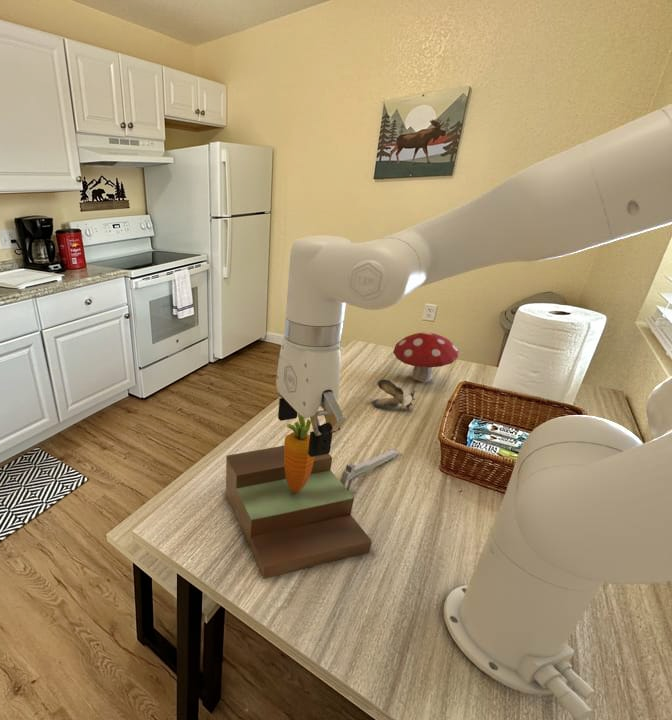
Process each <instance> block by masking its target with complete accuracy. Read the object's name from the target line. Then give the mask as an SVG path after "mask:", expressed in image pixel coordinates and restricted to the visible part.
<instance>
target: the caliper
mask: <svg viewBox="0 0 672 720" xmlns="http://www.w3.org/2000/svg"><path fill="white" fill-rule="evenodd" d="M399 454H400V451H397V450H395V449H390V450H387V451H385V452H383V453H381V454H379V455H377V456H375V457H373V458H370V459H369V460H366V461H361V462H359V463H357V464H354V463H352V462H350V463H349V464H346V466H345V469H344V470H343V471H342V474H341V478H340V479H339V481H340V482H341V483H342V484H343V485H344V486H345V488H346V489H347V490H348V491H349V492H351V490H352V488H353V485H354V483H355V481H356V479H361V478H362V477H364V476H365V475H366V473H367V472H369V471H372V469H373V470H374V469H375V468H376V467H379V466H380V465H383V464H384V463H387V462H388V461H390V460H392V459H395V458H396V456H397V455H399Z"/></svg>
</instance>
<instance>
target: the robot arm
mask: <svg viewBox="0 0 672 720" xmlns="http://www.w3.org/2000/svg"><path fill="white" fill-rule="evenodd" d="M669 225H672V103H670V104H667V105H664V106H663V107H660V108H658V109H656V110H654V111H652V112H649V113H647V114H645V115H643V116H640V117H638V118H636V119H634V120H631V121H629V122H627V123H625V124H622V125H620V126H617V127H615V128H613V129H611V130H609V131H607V132H604V133H602V134H599V135H597V136H595V137H592V138H591V139H588V140H586V141H584V142H582V143H579V144H577V145H574V146H572V147H570V148H568V149H565V150H563V151H561V152H559V153H557V154H553V155H552V156H549V157H546V158H544V159H542V160H540V161H538V162H535V163H534V164H531V165H528V166H527V167H525V168H523V169H521V170H520V171H518V172H516V173H514V174H512V175H511V176H508V177H507V178H505V179H504V180H503V181H501V182H500V183H498V184H497V185H496V186H494V187H492V188H491V189H489V190H488V191H486V192H484V193H483V194H480V195H479V196H476V197H475V198H472V199H471V200H468V201H466V202H465V203H462V204H460V205H458V206H456V207H453V208H451V209H449V210H447V211H445V212H443V213H441V214H438V215H435V216H433V217H431V218H429V219H427V220H424V221H422V222H419V223H417V224H415V225H413V226H409V227H408V228H405V229H402V230H400V231H398V232H395V233H393V234H392V233H391V234H389V235H386V236H383V237H379V238H376V239H372V240H369V241H362V242H352V241H351V240H350V239H348V238H346V237H344V236H338V235H337V236H336V235H327V234H325V235H319V234H318V235H307V236H302V237H299V238H297V239H296V240H295V241H294V242H293V243H292V246H291V247H290V248H291V249H290V256H289V266H288V268H289V269H288V271H289V272H288V282H287V294H286V295H287V296H286V307H285V308H286V309H285V310H286V311H285V322H284V323H285V324H284V335H283V338H282V342H281V345H280V350H279V357H278V363H277V368H276V369H277V370H276V371H277V372H276V380H275V388H276V391H277V392H278V393H277V394H278V397H279V400H278V413H277V419H278V420H279V421H281V422H283V421H289V420H294V419H295V420H296V419H298V413H299V414H300V415H301V416H302V417H304V418H305V419H310V420H311V427H312V431H310V432H309V435H310V439H309V447H308V455H309V456H310V457H314V456H320V455H325V454H328V453H329V454H330V452H331V447H332V440H333V434H335V433H337V432H338V431H340V430H341V427H342V426H343V424H344V423H345V422H346V416H345V414H344V412H343V410H342V409H341V407H340V405H339V403H338V400H339V392H340V383H341V382H340V381H341V348H340V346H341V344H342V337H343V329H344V323H345V315H346V308H347V305H350V306H352V307H355V308H358V309H363V310H370V311H377V310H378V311H379V310H384V309H387V308H390V307H392V306H394V305H396V304H398V303H399V302H400V301H402V300H403V299H404V298H405V297H407V296H408V295H409V294H410V293H412V292H413V291H414V290H416V289H419V288H422V287H424V286H428V285H431V284H433V283H436V282H440V281H443V280H445V279H450V278H452V277H455V276H458V275H463V274H465V273H469V272H471V271H475V270H479V269H483V268H487V267H490V266H491V267H492V266H495V265H501V264H507V263H518V262H520V263H521V262H522V263H523V262H525V263H527V262H529V263H531V262H541V261H546V260H552V259H559V258H563V257H566V256H569V255H573V254H576V253H579V252H582V251H586V250H589V249H592V248H596V247H600V246H602V245H606V244H610V243H612V242H615V241H618V240H621V239H626V238H629V237H631V236H636V235H639V234H642V233H646V232H648V231H652V230H655V229H659V228H662V227H665V226H669ZM645 407H646V408H645V413H646V418H647V423H648V426H649V430H650V433H651V435H652V440H649V441H647V442H643V441H642V440H641V439H640V438H639V437H638V436H637V435H635V434H634V433H633V432H631V430H628V429H627V428H626V427H624V426H622V425H621V424H618V423H616V422H613V421H611V420H608V419H605V418H602V417H597V416H593V415H585V414H579V415H578V414H573V415H571V414H570V415H564V416H559V417H555V418H552V419H549V420H546V421H545V422H543V423H541V424H539V425H538V426H536V427H534V429H533V430H532V431H531V432H530V433H529V434H528V435H527V436H526V437H525V439H524V441H523V442H522V444H521V446H520V449H519V451H518V453H517V456H516V460H515V463H514V466H513V470H512V472H511V476H510V478H509V481H508V484H507V487H506V490H505V493H504V495H503V498H502V501H501V504H500V506H499V509H498V512H496V513H497V514H496V516H495V519H494V521H493V524H492V525H491V528H490V530H489V533H488V535H487V538H486V540H485V543H484V545H483V548H482V550H481V553H480V555H479V558H478V560H477V562H476V565H475V567H474V570H473V572H472V575H471V577H470V579H469V582H468V584H465V585H461V586H458V587H454V589H452V590H451V591H450V592H449V593H448V595H447V596H446V599H445V601H444V603H443V611H442V613H443V618H444V623H445V626H446V628H447V630H448V633H449V634H450V636H451V638H452V640H453V641H454V642H455V644H456V645H457V647H458V648H459V649H460V650H461V652H462V653H463V654H464V656H466V657H467V658H468V660H470V661H471V662H472V663H473V664H474V665H475V666H476V667H477V668H478V669H480V670H481V671H482V672H484V674H486V675H488V676H489V677H490V678H492V679H494V680H495V681H497V682H499V683H500V684H502V685H504V686H506V687H508V688H510V689H513V690H515V691H517V692H521V693H524V694H527V695H532V696H541V697H543V696H551V695H553V696H554V697H555V698H556V699H557V700H558V703H559V704H561V706H562V707H563V708H564V709H565V710H566V711H567V712H568V714H569V715H570V716H572V718H573V719H574V720H587V719H588V718H590V717H591V716H592V714H593V713H594V711H593V709H592V708H591V707H590V706H589V705H588V704H587V703H586V702H585V701H584V700H589V699H591V698H592V697H594V696H595V695H596V693H597V692H596V691H595V689H593V688H592V687H591V686H590V685H589V683H587V682H586V681H585V680H584V679H583V678H581V677H580V676H579V675H578V674H577V673H576V672H575V671H574V670H573V665H572V664H571V663H570V661H571V659H572V658H573V657H574V655H575V650H574V649H573V648H572V647H571V646H570V645H569V644H568V643H567V642H568V640H569V638H570V637H571V636H572V634H573V632H574V630H575V628H576V627H577V626H578V624H579V622H580V621H581V619H582V618H583V616H584V614H585V613H586V611H587V609H588V608H589V606H590V604H591V603H592V602H593V599H594V598H595V597H596V594H597V593H598V591H599V590H600V589H601V587H602V586H603V585H604V584H609V585H628V586H629V585H631V586H632V585H633V586H634V585H635V586H636V585H647V584H648V585H649V584H660V583H666V582H672V376H670V377H668V378H667V379H665V380H664V381H662V382H661V383H659V384H657V386H656V387H655V388H654V389H653V390H652V391H651V392H650V394H649V396H648V398H647V401H646V406H645ZM320 408H321V409H322V410H319V409H320ZM322 416H324V419H325V422H324V423H323V424H320V420H319V417H322ZM567 682H568V683H569V684H570V685H571V687H572V688H573V689H574V690H575V691H576V692H577V693H578V694H579V695H580V696H581V697H582V698H583V699H584V700H583V699H582V698H581V697H580V696H579V695H578V694H577V693H576V692H575V691H574V690H572V689H571V688H570V687H569V686H568V685H567Z"/></svg>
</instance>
